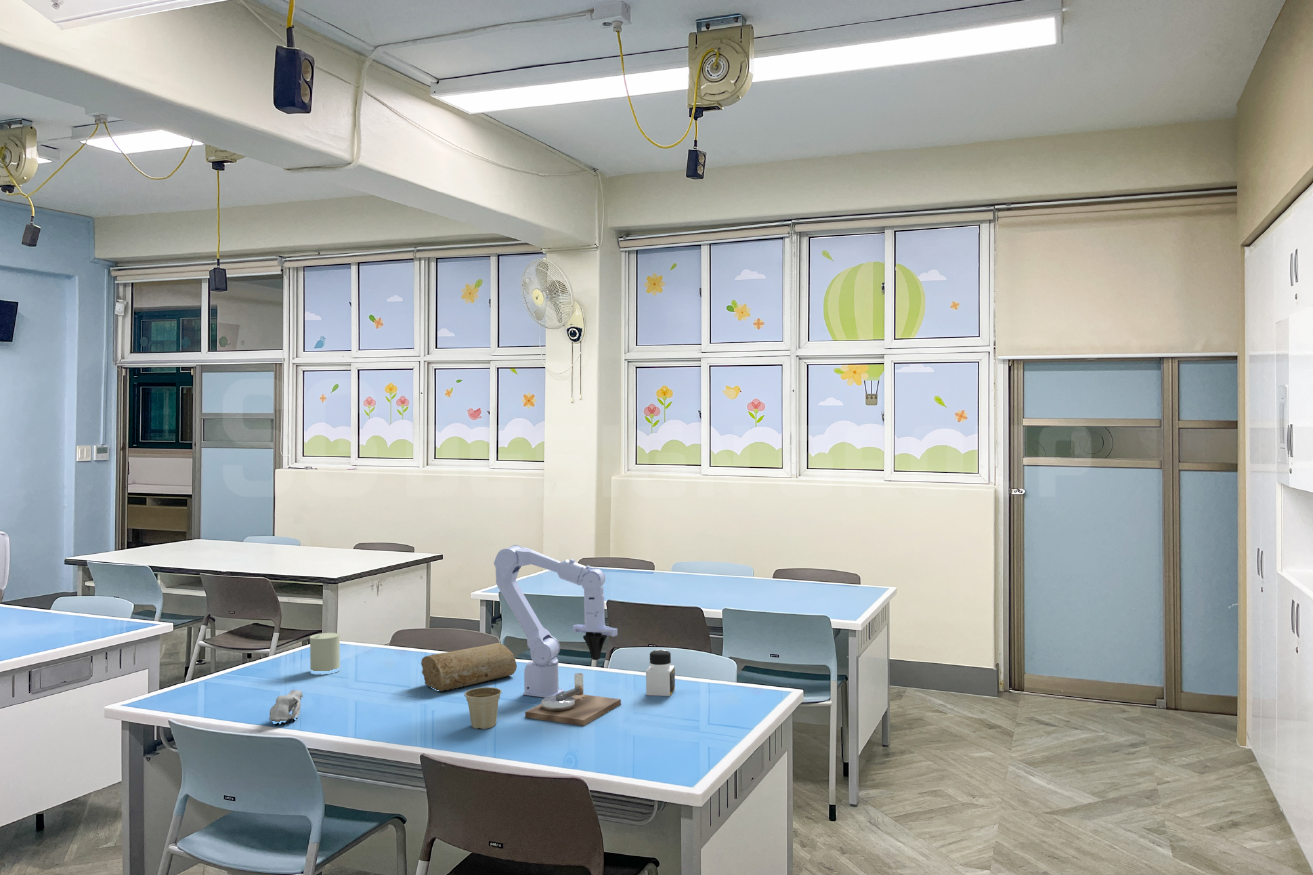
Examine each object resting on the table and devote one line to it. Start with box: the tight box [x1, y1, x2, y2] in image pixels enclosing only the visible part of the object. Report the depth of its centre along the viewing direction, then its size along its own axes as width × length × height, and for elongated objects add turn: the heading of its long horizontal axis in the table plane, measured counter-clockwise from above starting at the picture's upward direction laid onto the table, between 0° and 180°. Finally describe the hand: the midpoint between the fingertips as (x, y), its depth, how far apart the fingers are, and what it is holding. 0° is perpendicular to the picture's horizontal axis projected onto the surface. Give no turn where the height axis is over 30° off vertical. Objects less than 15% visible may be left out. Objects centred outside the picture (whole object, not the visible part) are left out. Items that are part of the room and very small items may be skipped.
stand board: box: [524, 693, 622, 727], centre depth 246 cm, size 18×20×2 cm
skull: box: [268, 689, 304, 722], centre depth 242 cm, size 8×9×12 cm
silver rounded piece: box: [540, 672, 584, 711], centre depth 247 cm, size 15×9×6 cm, turn 146°
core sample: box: [420, 642, 517, 692], centre depth 278 cm, size 14×26×10 cm, turn 134°
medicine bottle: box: [645, 649, 676, 697], centre depth 262 cm, size 7×7×12 cm
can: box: [309, 632, 341, 671], centre depth 292 cm, size 9×9×12 cm
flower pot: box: [463, 687, 503, 730], centre depth 235 cm, size 9×9×9 cm
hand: (595, 659), depth 260 cm, fingers closed
